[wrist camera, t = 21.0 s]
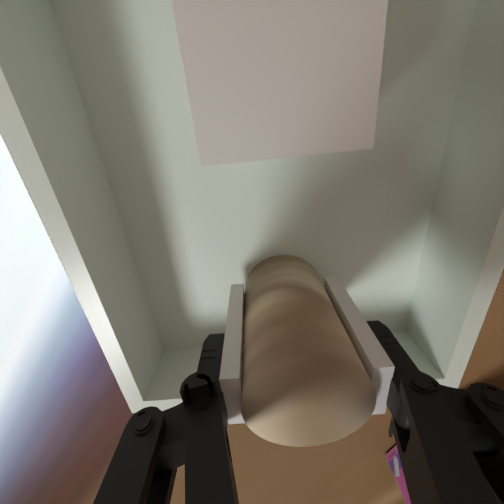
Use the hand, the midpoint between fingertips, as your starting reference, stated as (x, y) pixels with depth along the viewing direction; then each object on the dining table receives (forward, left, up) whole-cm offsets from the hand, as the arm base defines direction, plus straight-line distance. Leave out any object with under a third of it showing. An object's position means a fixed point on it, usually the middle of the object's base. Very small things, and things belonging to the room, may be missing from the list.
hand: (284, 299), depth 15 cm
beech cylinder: (0, 0, -1) cm, 1 cm away
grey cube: (0, +11, -1) cm, 11 cm away
